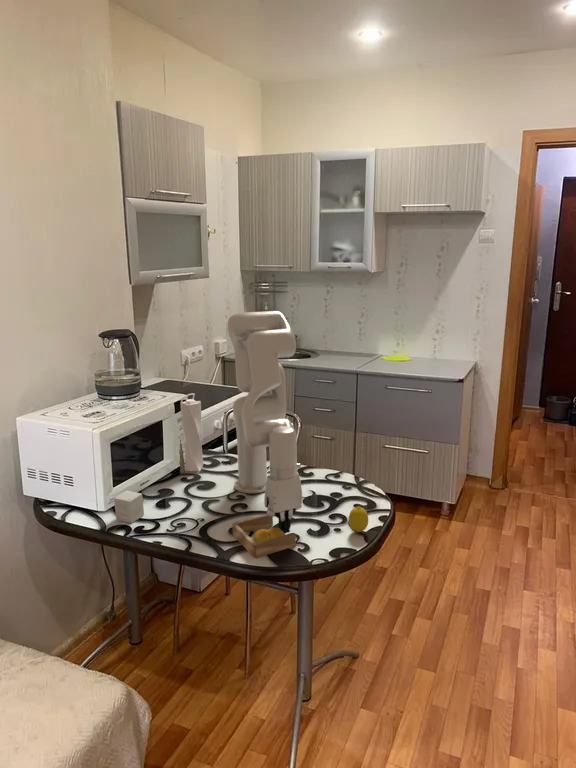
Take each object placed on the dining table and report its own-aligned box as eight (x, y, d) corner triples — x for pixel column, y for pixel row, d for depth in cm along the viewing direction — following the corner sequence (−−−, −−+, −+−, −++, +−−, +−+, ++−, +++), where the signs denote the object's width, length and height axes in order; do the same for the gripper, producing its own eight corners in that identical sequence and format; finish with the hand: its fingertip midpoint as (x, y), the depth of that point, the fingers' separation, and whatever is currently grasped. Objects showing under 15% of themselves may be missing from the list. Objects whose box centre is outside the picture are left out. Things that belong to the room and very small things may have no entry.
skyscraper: (185, 464, 220) (181, 392, 213) (207, 465, 219) (203, 392, 212) (179, 473, 212) (174, 399, 205) (201, 474, 211) (197, 399, 204)
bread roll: (251, 537, 167) (250, 524, 166) (282, 534, 168) (282, 521, 167) (254, 552, 159) (254, 539, 158) (287, 549, 160) (287, 536, 159)
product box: (144, 515, 181) (142, 493, 179) (131, 524, 175) (129, 501, 174) (128, 511, 183) (126, 490, 182) (115, 520, 178) (113, 498, 176)
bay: (232, 534, 168) (231, 523, 167) (271, 523, 174) (271, 512, 173) (254, 558, 156) (254, 546, 155) (295, 545, 162) (295, 533, 161)
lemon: (366, 527, 171) (366, 502, 169) (369, 537, 166) (370, 511, 164) (347, 528, 171) (347, 502, 169) (350, 537, 165) (350, 511, 163)
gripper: (299, 461, 170) (300, 519, 174) (253, 472, 163) (255, 532, 167) (313, 469, 163) (314, 529, 168) (265, 481, 156) (267, 543, 161)
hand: (284, 530), depth 168 cm, fingers closed
